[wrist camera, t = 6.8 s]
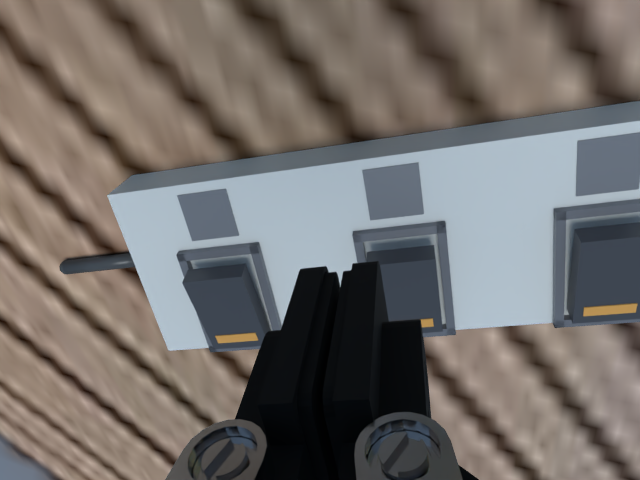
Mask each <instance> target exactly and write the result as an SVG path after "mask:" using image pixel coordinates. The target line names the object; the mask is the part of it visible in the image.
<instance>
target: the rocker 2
mask: <svg viewBox="0 0 640 480" xmlns="http://www.w3.org/2000/svg"><path fill="white" fill-rule="evenodd" d="M567 311H568V313H569V316H570V318H571V321H572V323H573V324H575V323H589V322H603V321H617V320H630V319H640V222H636V223H627V224H617V225H608V226H598V227H589V228H579V229H574V239H573V250H572V260H571V271H570V281H569V291H568V302H567Z"/></svg>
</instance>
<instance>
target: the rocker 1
mask: <svg viewBox="0 0 640 480" xmlns="http://www.w3.org/2000/svg"><path fill="white" fill-rule="evenodd" d="M182 284H183V286H184V288H185V290H186V292H187V294H188V296H189V298H190V300H191V302H192V304H193V306H194V308H195V310H196V313H197V315H198V317H199V319H200V321H201V323H202V325H203V327H204V329H205V331H206V333H207V335H208V337H209V339H210V341H211V343H212V346H213V348H214V349H227V348H241V347H254V346H261V344H262V341H263V339H264V336H265V334H266V333H267V332H268V331H271V329H270V326H269V324H268V321H267V318H266V316H265V313H264V311H263V308H262V305H261V303H260V300H259V297H258V295H257V292H256V289H255V287H254V284H253V281H252V279H251V276H250V273H249V271H248V268H247V266H246V264H237V265H227V266H217V267H208V268H198V269H189V270H187V273H186V275H185V277H184V279H183V282H182Z"/></svg>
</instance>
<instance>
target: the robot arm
mask: <svg viewBox="0 0 640 480" xmlns="http://www.w3.org/2000/svg"><path fill="white" fill-rule="evenodd" d="M165 480H479V479H477V478H476V477H474V476H473V475H472V474H470V473H469V472H468V471H466V470H465V469H463V468H462V467H461V466H459V465H458V463H457V459H456V456H455V453H454V450H453V446H452V443H451V440H450V438H449V437H448V435H447V433H446V431H445V429H444V428H442V427H441V426H440V425H439V424H438V423H437V422H436V421H435V420H433V419H431V411H430V398H429V386H428V375H427V365H426V356H425V348H424V340H423V332H422V325H421V319H416V320H403V321H390V322H389V319H388V313H387V306H386V300H385V294H384V288H383V281H382V275H381V269H380V264H379V261H372V262H362V263H353V264H352V269H351V270H350V271H343V275H342V281H341V287H340V283H339V278H338V274H337V272H329V271H328V269H327V267H326V266H322V267H313V268H303V269H300V271H299V274H298V277H297V280H296V283H295V286H294V289H293V293H292V296H291V299H290V302H289V305H288V309H287V312H286V315H285V318H284V321H283V324H282V328H281V330H274V331H268V332H267V333H266V334H265V336H264V339H263V341H262V344H261V347H260V350H259V353H258V356H257V358H256V361H255V364H254V367H253V370H252V373H251V375H250V378H249V381H248V384H247V387H246V390H245V392H244V395H243V398H242V401H241V404H240V407H239V409H238V412H237V415H236V418H235V420H226V421H222V422H219V423H215V424H213V425H211V426H209V427H208V428H206V429H204V430H202V431H201V432H200V433H198V434H197V435H196V436H195V437H194V438H192V439H191V441H190V442H189V443H188V444H187V446H186V447H185V448H184V449H183V451H182V453H181V454H180V456H179V458H178V459H177V461H176V463H175V464H174V466H173V468H172V469H171V471H170V473H169V474H168V476H167V478H166V479H165Z"/></svg>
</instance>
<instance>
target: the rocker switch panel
mask: <svg viewBox="0 0 640 480" xmlns="http://www.w3.org/2000/svg"><path fill="white" fill-rule="evenodd" d="M107 196H108V199H109V201H110V204H111V206H112V209H113V211H114V214H115V216H116V219H117V221H118V224H119V226H120V229H121V231H122V234H123V237H124V239H125V242H126V244H127V247H128V249H129V252H130V253H126V254H117V255H108V256H100V257H91V258H82V259H74V260H66V261H63V262H62V263H61V264H60V271H61V272H62V273H64V274H74V273H84V272H93V271H102V270H111V269H120V268H130V267H136V269H137V272H138V274H139V277H140V279H141V282H142V285H143V287H144V290H145V292H146V295H147V297H148V300H149V302H150V305H151V307H152V310H153V312H154V315H155V317H156V320H157V322H158V325H159V327H160V330H161V333H162V335H163V338H164V340H165V343H166V345H167V348H168V350H169V351H170V350H184V349H198V348H209V350H210V352H221V351H235V350H249V349H260V347H261V346H254V347H241V348H227V349H214V348H213V346H212V343H211V341H210V339H209V337H208V335H207V333H206V331H205V329H204V327H203V325H202V323H201V321H200V319H199V317H198V315H197V313H196V310H195V308H194V306H193V304H192V302H191V300H190V298H189V296H188V294H187V292H186V290H185V288H184V286H183V284H182V282H183V279H184V277H185V275H186V273H187V270H189V269H198V268H208V267H217V266H227V265H237V264H246V266H247V268H248V271H249V273H250V276H251V279H252V281H253V284H254V287H255V289H256V292H257V295H258V297H259V300H260V303H261V305H262V308H263V311H264V313H265V316H266V318H267V321H268V324H269V326H270V329H271V331H274V330H281V328H282V324H283V321H284V318H285V315H286V312H287V309H288V305H289V302H290V299H291V296H292V293H293V289H294V286H295V283H296V280H297V277H298V274H299V271H300V269H303V268H313V267H322V266H326V267H327V269H328V271H329V272H337V274H338V278H339V283H340V287H341V281H342V275H343V271H350V270H351V269H352V264H353V263H362V262H367V252H371V251H380V250H390V249H399V248H409V247H418V246H428V245H434V249H435V257H436V267H437V277H438V287H439V297H440V307H441V317H442V327H443V332H431V333H423V337H433V336H447V335H456V331H455V330H459V329H473V328H487V327H501V326H514V325H528V324H542V323H553V325H554V327H555V328H560V327H574V326H588V325H602V324H616V323H630V322H640V319H630V320H617V321H603V322H589V323H575V324H573V323H572V321H571V318H570V316H569V313H568V311H567V302H568V291H569V281H570V271H571V260H572V250H573V239H574V229H579V228H589V227H598V226H608V225H617V224H627V223H636V222H640V101H635V102H628V103H621V104H615V105H608V106H601V107H594V108H587V109H580V110H574V111H567V112H560V113H553V114H546V115H540V116H533V117H526V118H519V119H512V120H506V121H499V122H492V123H485V124H478V125H472V126H465V127H458V128H451V129H444V130H438V131H431V132H424V133H417V134H410V135H403V136H397V137H390V138H383V139H376V140H369V141H363V142H356V143H349V144H342V145H335V146H329V147H322V148H315V149H308V150H301V151H295V152H288V153H281V154H274V155H267V156H261V157H254V158H247V159H240V160H233V161H226V162H220V163H213V164H206V165H199V166H192V167H186V168H179V169H172V170H165V171H158V172H152V173H145V174H138V175H132V176H131V177H129V178H128V179H127V180H126V181H124V182H123V183H122V184H121V185H119V186H118V187H117V188H116V189H114V190H113V191H112V192H111V193H109V194H108V195H107Z"/></svg>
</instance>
